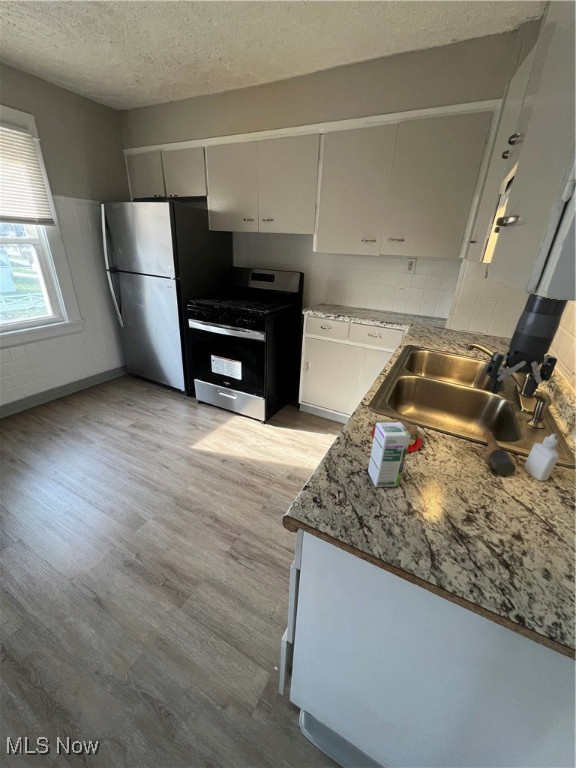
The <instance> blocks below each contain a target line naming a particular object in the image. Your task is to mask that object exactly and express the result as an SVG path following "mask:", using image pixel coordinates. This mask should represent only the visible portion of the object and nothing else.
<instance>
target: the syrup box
mask: <svg viewBox="0 0 576 768" xmlns="http://www.w3.org/2000/svg"><path fill="white" fill-rule="evenodd" d="M375 426H376V428H375V434H374V438H373V440H372V444H371V445H372V446H371V451H370V457H369V463H368V469H367V472H368V474H369V476H370V479H371V481H372V483H373V485H374V487H375V488H388V487H389V488H390V487H391V488H392V487H399V486H400V482H401V479H402V474H403V471H404V470H403V469H404V465H405V461H406V457H407V454H408V452H407V449H408V445H409V441H410V434H409V432H408V431H407V429H406V428H405V427H404V426H403V425H402V424H401V422H397V423H392V422H380V421H379V422H376V423H375Z"/></svg>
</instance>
